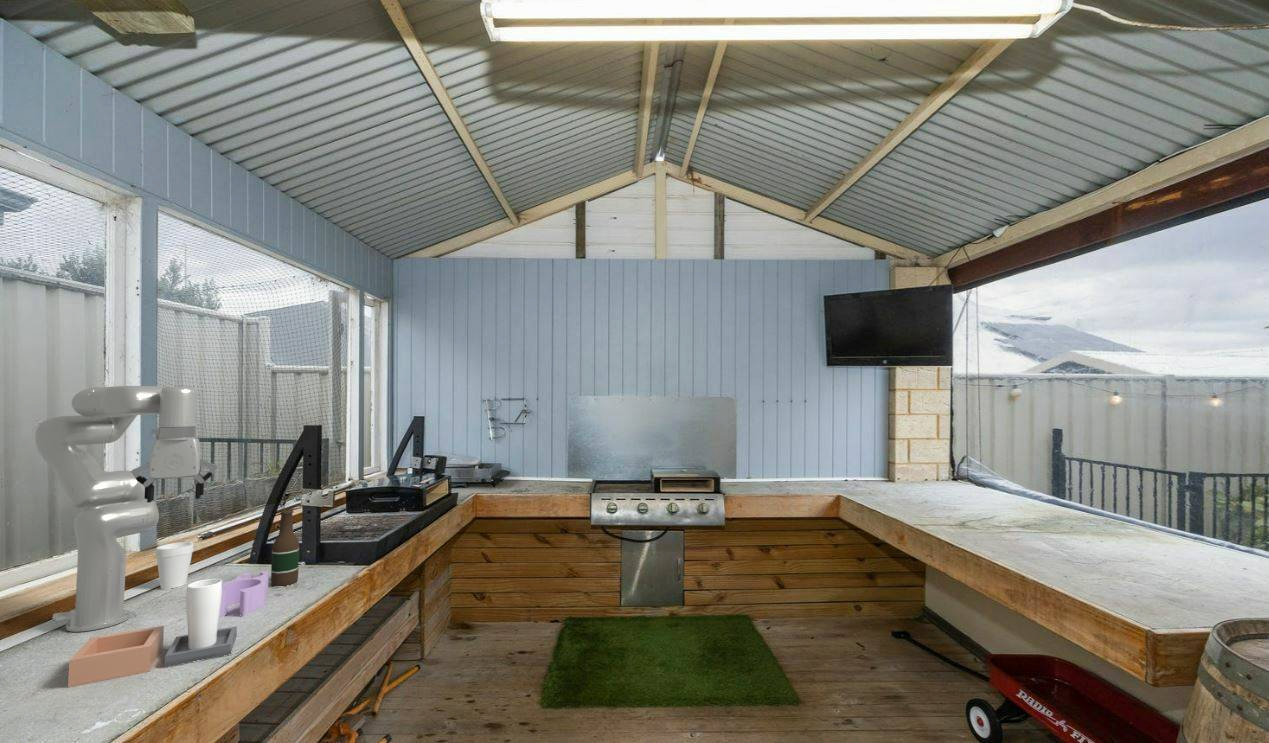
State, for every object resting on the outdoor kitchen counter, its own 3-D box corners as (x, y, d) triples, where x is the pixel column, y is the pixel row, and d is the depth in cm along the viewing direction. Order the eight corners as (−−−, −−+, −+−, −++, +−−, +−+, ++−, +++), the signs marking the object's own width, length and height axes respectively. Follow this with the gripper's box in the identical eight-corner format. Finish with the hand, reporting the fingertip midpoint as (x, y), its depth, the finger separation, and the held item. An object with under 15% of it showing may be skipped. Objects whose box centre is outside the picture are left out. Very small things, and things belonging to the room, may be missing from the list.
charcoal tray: (164, 667, 123) (165, 656, 123) (175, 647, 133) (176, 636, 133) (230, 654, 129) (231, 644, 129) (236, 636, 139) (236, 626, 139)
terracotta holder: (68, 687, 114) (69, 660, 115) (89, 662, 126) (90, 637, 126) (149, 671, 121) (150, 646, 121) (162, 648, 132) (163, 625, 133)
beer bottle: (295, 578, 185) (297, 506, 187) (301, 583, 180) (303, 509, 181) (268, 583, 180) (270, 509, 181) (273, 589, 174) (275, 513, 176)
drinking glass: (189, 655, 126) (191, 589, 127) (180, 647, 130) (183, 583, 131) (224, 645, 132) (226, 582, 133) (215, 638, 136) (217, 576, 137)
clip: (232, 596, 168) (233, 573, 169) (278, 592, 172) (279, 570, 172) (202, 621, 149) (203, 595, 150) (255, 616, 153) (256, 590, 153)
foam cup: (196, 584, 179) (198, 544, 180) (161, 593, 171) (162, 551, 172) (185, 579, 184) (186, 540, 185) (150, 587, 176) (151, 546, 177)
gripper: (129, 435, 135) (126, 505, 134) (216, 433, 144) (214, 499, 143) (137, 434, 142) (134, 501, 141) (220, 432, 151) (218, 494, 150)
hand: (174, 499), depth 142 cm, fingers open, 9 cm apart
